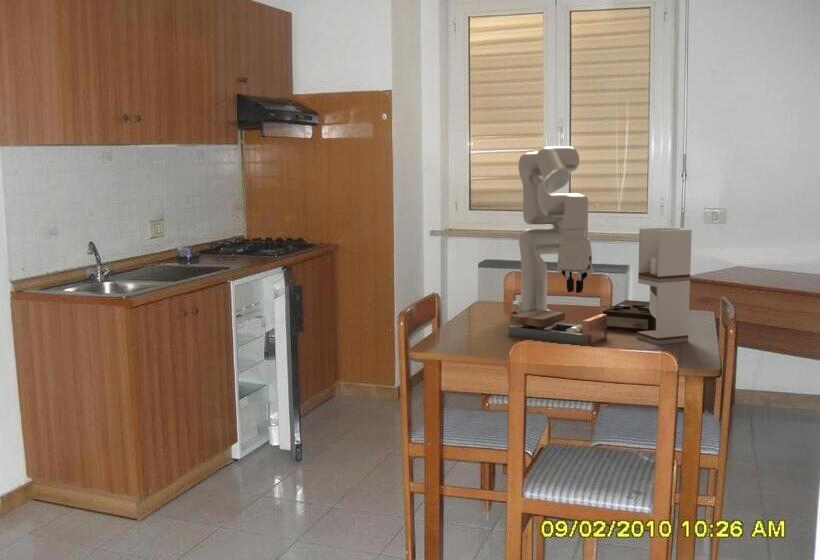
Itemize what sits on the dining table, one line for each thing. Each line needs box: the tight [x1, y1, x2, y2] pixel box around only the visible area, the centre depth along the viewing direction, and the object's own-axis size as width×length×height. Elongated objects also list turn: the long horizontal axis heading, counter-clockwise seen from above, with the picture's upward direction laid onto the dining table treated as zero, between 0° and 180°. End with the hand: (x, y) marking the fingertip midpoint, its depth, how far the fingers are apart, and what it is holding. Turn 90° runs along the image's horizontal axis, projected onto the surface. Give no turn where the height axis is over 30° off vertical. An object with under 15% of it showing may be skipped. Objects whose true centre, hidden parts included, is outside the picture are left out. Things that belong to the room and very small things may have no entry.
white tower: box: [636, 226, 693, 346], centre depth 267 cm, size 11×11×35 cm
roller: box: [564, 324, 583, 334], centre depth 272 cm, size 4×8×4 cm, turn 144°
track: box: [508, 313, 608, 346], centre depth 276 cm, size 28×14×8 cm, turn 54°
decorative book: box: [602, 299, 656, 334], centre depth 293 cm, size 19×8×30 cm
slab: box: [510, 309, 566, 327], centre depth 280 cm, size 12×15×2 cm
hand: (574, 291), depth 271 cm, fingers closed
